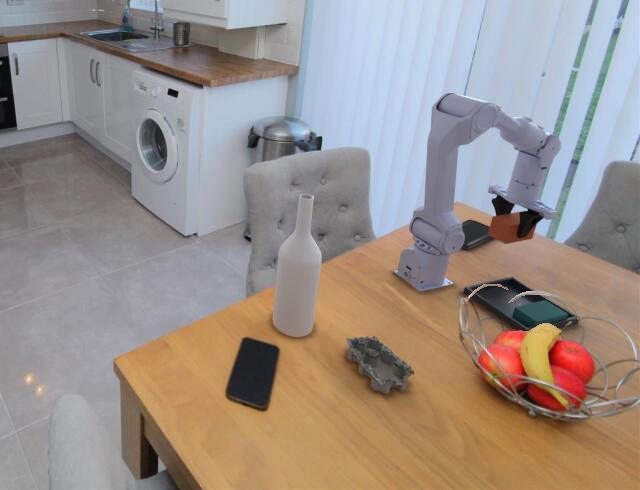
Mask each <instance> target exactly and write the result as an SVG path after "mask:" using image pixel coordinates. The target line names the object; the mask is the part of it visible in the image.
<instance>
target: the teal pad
mask: <svg viewBox="0 0 640 490" xmlns="http://www.w3.org/2000/svg"><path fill="white" fill-rule="evenodd" d="M567 316H568V314H567V313H566V312H564V311H562V310H561V309H559V308H557V307H556V306H554V305H553V304H551V303H549V302H548V301H546V300H544V301H540V302H535V303H531V304H527V305H522V306H518V307H515V309H514V312H513V315H512V317H513V318H514V319H516V320H517V321H519V322H520V323H522V324H523V325H524V326H526V327H527V328H529V327H533V326H537V325H539V324H542V323H550V322H554V321H558V320H562V319H566V318H567Z"/></svg>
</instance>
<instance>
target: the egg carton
mask: <svg viewBox="0 0 640 490" xmlns="http://www.w3.org/2000/svg"><path fill="white" fill-rule="evenodd" d="M346 342H347V345H348V349H347V350H348V351H347V356H346V358H347V359H348V360H349V362H354V363H357V364H358V370H357V371H358V373H359V374H360V375H361V376H365V377H368V378H369V379H370V384H369V386H370V388H372V390H375V391H378V392H380V393H382V394H384V395H385V394H390V391H391V388H395V389H396V388H397V389H398V390H399V391H401V392H403V391H406V390H407V387H408V381H409V378H410V377H411V376H414V375H415V371H414V369H412V367H411V365H409V363H408V362H406V361H405V360H404V359H403V360H402V359H401V358H400V356H398V355H397V354H396V353H394V352H393V350H392V349H391V348H390V347H388V346H387V345H385V344H384V343H383V342H381V341H380V340H379V338H378V337H377V336H376V335H373V336H372V337H369V336H368V335H366V336H364V337H363V336H360V337H357V336H356V337H354V338H350V337H347V338H346Z"/></svg>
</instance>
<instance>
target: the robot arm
mask: <svg viewBox="0 0 640 490" xmlns="http://www.w3.org/2000/svg"><path fill="white" fill-rule="evenodd" d="M430 113H431V116H430V130H429V133H428V136H427V141H426V142H427V143H426V163H425V184H424V199H423V201H424V204H423V205H421V206H418V207H417V208H415V209H414V210H413V211H412V217H411V219H410V222H409V226H408V229H409V232H410V234H411V235H412V240H413V242H414V243H412V245H410V246H409V247H407V248H403V250H401V253H400V256H399V262H398V266H397V269H395V270H394V271H393V272H394V274H395V275H396V276H398V277H400V278H401V279H403V280H404V281H405V282H407V283H408V284H409V285H410V286H412V287H413V288H414V289H416V291H418V292H424V291H428V290H434V289H438V288H442V287H443V288H444V287H447V286H452V285H454V282H453V281H451V280H450V279H449V278H447V277H446V275H447V270H448V266H449V262H450V258H451V255H453V254H456V253H457V252H458V251H460V250H461V249H462V248H461V247H462V246H463V244H464V240H465V235H464V233H463V231H462V222H463V221H461V220H460V218H459V217H458V216H457V214H456V213H455V211H454V210H455V209H454V208H455V207H454V206H455V197H456V196H455V195H456V194H455V193H456V184H457V183H456V182H457V171H458V169H457V168H458V159H459V148H460V147H461V146H466V145H469V144H471V143H472V142H474V141H475V140H477V138H480V137H481V136H482V135H483V134H485V133H487V131H489V130H490V129H492V128H495V129H497V130H499V136H500V138H501V139H502V140H504V141H505V142H507V143H508V144H510V145H512V147H513V149H514V151H518V152H517V155H516V159H515V161H514V162H515V163H514V166H513V169H512V171H511V172H512V173H511V177H510V180H509V183H508V186H507V187H505V186H502V185H498V184H491V185H489V186H488V188H487V193H488V194H491V195H496V196H495V197H493V198H491V204H492V206H493V209H494V212H495V216H498V215H504V214H509V213H512V211H513V209H514V207H515V205H516V206H520V207H521V208H524V209H526V210H522V211H518V212H519V215H520V224H519V228H518V232H517V237H518V238H525V237H527V235H528V234H529V232H530V231H531V230H532V228H533V227H534V226H535V225H536V224H537V225H538V223H540V222H541V221H542V220H547V221H551V220H555V219H556V216H557V213H558V211H557V210H555V209H553V208H552V207H550V206H548V205H547V204H545V203H544V202H542V201H541V200H539V196H540V193H541V189H542V187H543V183H544V180H545V177H546V173H547V171H548V168H549V167H551V165H552V164H553V162H554V160H555V158H556V156H557V155H558V154H559V153H560V151H561V149H562V142H561V139H560V138H559V137H558V136H557V135H556V134H552V133H549V132H546V131H545V130H544V127H543V126H540V125H536V124H534V123H533V121H534V120H533V118H531V117H527V116H515V117H513V116H512V115H511V114H509V113H508V112H506V111H505V110H504V109H502V106H501V105H498V104H495V103H494V102H491V101H486V100H482V99H478V98H475V97H470V96H466V95H462V94H458V93H457V92H454V91H448V92H445V93H444V94H442V95H441V96H440V97H439V98H438V99H437V101H435V103H434V104H433V105H432V106H431V112H430ZM537 225H536V226H537Z"/></svg>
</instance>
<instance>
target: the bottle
mask: <svg viewBox="0 0 640 490" xmlns="http://www.w3.org/2000/svg"><path fill="white" fill-rule="evenodd" d="M314 200H315V197H314V195H313V194H310V193H301V194H299V196H298V202H297V203H298V204H297V211H296V212H297V214H296V221H295V227H294V231H293V233H291V234H290V236H288V237H287V238H286V239H285V240H284V242H283V243H282V244H281V245H280V246H279V250H278V255H277V265H276V266H277V267H276V275H275V276H276V277H275V286H274V287H275V288H274V297H273V298H274V300H273V309H272V324H273V326H274V327H275V328H276V330H277V331H279V333H281V334H283V335H285V336H288V337H292V338H303V337H307V336H308V335H310V334H311V333H312V331H313V329H314V322H315V315H316V307H317V299H318V294H319V293H318V292H319V284H320V276H321V269H322V260H323V258H322V257H323V256H322V251H321V249H320V248H319V246H318V244H317V243H316V241H315V239H314V237H313V236H312V234H311V229H312V217H313V211H314Z"/></svg>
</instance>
